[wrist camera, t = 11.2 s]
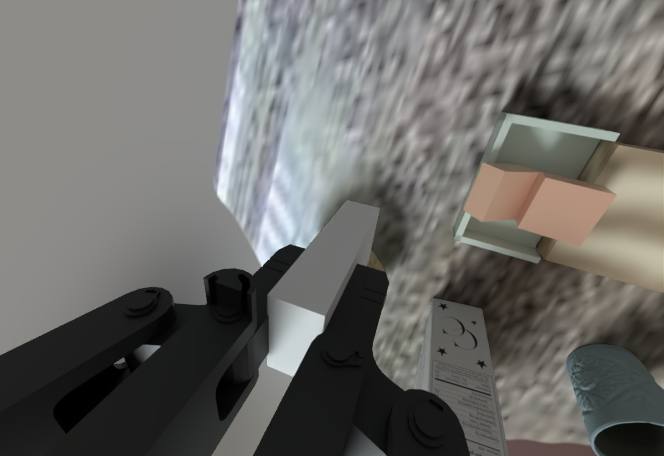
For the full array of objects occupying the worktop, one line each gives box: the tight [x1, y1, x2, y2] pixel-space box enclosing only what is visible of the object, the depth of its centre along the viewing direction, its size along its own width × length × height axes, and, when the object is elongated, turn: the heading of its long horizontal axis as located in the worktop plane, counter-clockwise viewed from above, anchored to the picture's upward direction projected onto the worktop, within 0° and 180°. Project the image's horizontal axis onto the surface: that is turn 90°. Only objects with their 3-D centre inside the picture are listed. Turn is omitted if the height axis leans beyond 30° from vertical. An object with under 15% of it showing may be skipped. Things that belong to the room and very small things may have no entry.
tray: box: [453, 111, 620, 264], centre depth 34 cm, size 16×10×4 cm, turn 171°
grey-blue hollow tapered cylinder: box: [566, 344, 664, 456], centre depth 37 cm, size 10×10×12 cm
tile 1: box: [515, 171, 617, 247], centre depth 30 cm, size 6×6×3 cm
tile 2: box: [463, 162, 540, 222], centre depth 33 cm, size 6×6×3 cm
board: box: [536, 139, 664, 293], centre depth 31 cm, size 14×12×4 cm
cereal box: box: [414, 298, 509, 456], centre depth 40 cm, size 22×8×25 cm, turn 179°
